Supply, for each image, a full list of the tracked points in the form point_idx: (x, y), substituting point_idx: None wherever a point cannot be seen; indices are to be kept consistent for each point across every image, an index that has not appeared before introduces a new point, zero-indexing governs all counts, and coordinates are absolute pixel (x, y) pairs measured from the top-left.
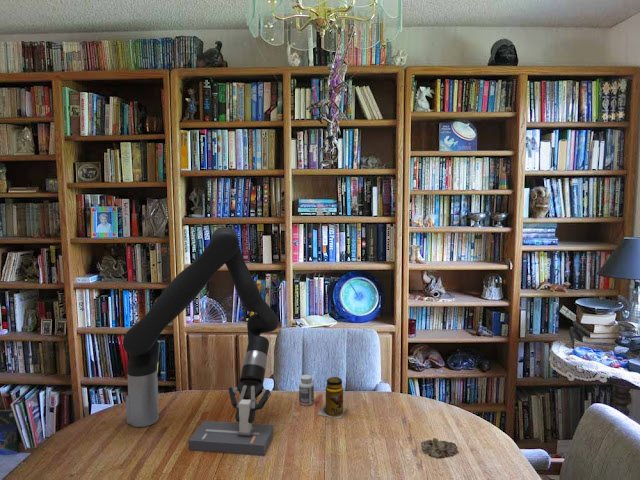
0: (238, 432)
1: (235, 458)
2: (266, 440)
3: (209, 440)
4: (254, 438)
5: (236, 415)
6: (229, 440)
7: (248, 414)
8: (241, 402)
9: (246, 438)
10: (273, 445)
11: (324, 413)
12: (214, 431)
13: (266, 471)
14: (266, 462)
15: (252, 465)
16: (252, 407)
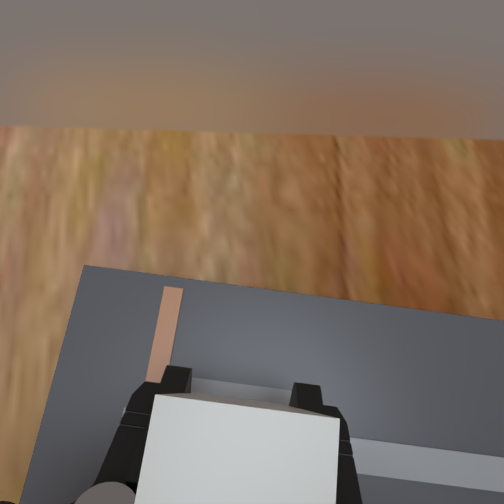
0: (284, 397)
1: (266, 256)
2: (66, 336)
3: (471, 333)
4: (154, 349)
5: None
6: (333, 332)
7: (181, 393)
8: (301, 481)
9: (215, 359)
10: (42, 396)
11: None
12: (485, 460)
13: (91, 148)
14: (91, 218)
15: (165, 195)
16: (117, 498)
